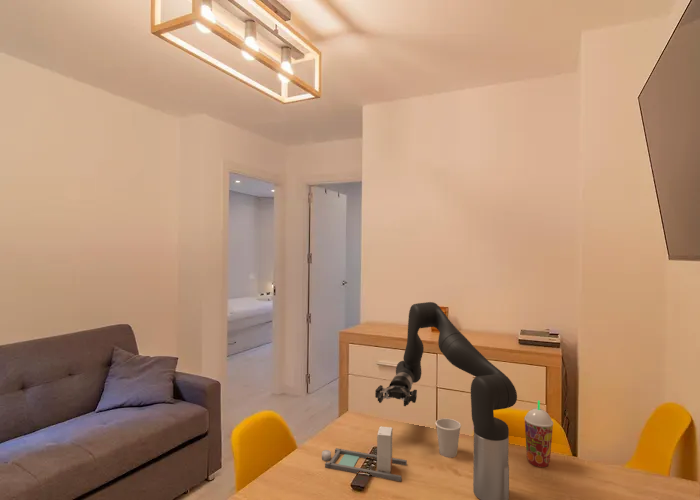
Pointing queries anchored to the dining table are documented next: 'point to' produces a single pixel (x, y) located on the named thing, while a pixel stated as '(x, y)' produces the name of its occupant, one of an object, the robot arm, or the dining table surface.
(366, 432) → the dining table surface
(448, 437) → the dixie cup
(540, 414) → the smoothie
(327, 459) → the guide channel
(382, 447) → the skincare box
